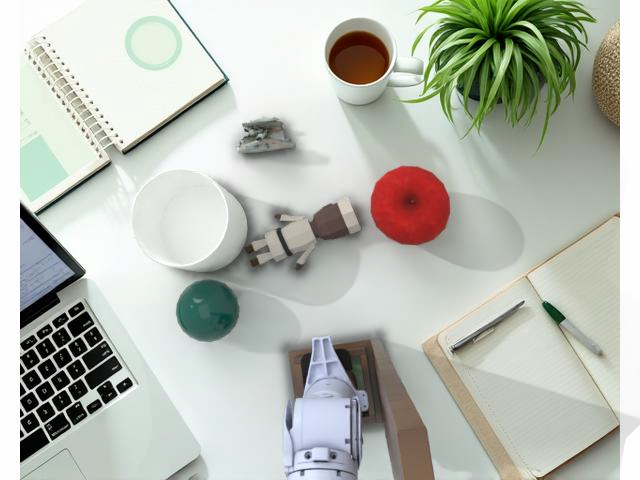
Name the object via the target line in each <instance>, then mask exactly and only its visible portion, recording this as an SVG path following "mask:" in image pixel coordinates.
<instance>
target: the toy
mask: <svg viewBox="0 0 640 480" xmlns="http://www.w3.org/2000/svg"><path fill="white" fill-rule="evenodd" d="M274 219H279V221H280V222H281V221H283V222H284V221H288V222H291V223H289V224H287V225H285V226H283V227H281V226H279V227H277V228H275V229H274V230H270V231H267V232H265V233H264V238H262V239H257V240H254V241H251V244H250V245H246V246H243V248H244V250H245V253H246V254H248V255H250V254H251V253H254V252H255V253H257V252H259V251H261V250H263V249H265V248H266V247H268V249H269V251H267V252H264V253H261V254H260V253H259V254H257V255H256V258H253V259H250V260H249V264H250V266H251V267H253V268H255V267H257V266H259V265H261V266H263V265H264V264H266V263H267V262H270V261H271V260H274V261H275V262H276V263H279V262H280V261H282V260H284V259H286V258H287V257H288V258H290V257H292V256H294V254H297V253H300V252H302V254H301V256H300V257H299V258H298V259H297V261H296V263H297V264H296V267H294V268H295V271H296V272H298V271H301V269H302V268H303V266H304V265H305V264H306V262H307V259H308V257H309V255H310V254H311V253H312V252H313V250H315V248H316V247H317V245H316V244H317V243H318V239H321V240H322V241H331V240H338V239H339V240H340V239H341V238H344V237H346V235H347V234H350V235H353V234H355V233H357V232H360V231H362V227H361V225H360V223H359V220H358V218H357V215H356V213H355V210H354V208H353V205H352V203H351V201H350V199H349V196H348V195H346V196H344V197H342V198H339V199H337V200H336V202H335V203H331V202H330V203H328V204H326V205H324V206H322V207H321V208H320V209H319V210H317V211H316V212H314V214H313V217H312V220H310V219H309V218H306V217H305V216H303V215H302V216H301V215H300V216H291V215H288V214H283V213H276V214H274Z"/></svg>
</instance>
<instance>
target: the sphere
mask: <svg viewBox="0 0 640 480" xmlns="http://www.w3.org/2000/svg"><path fill="white" fill-rule="evenodd" d="M240 308H241V307H240V303H239V299H238V296H237V294H236V293H235V291H234V290H233V289H232V288H231V287H230V286H228V285H227V284H226V283H225V282H222V281H221V280H217V279H211V278H204V279H200V280H196V281H193V282H192V283H191V284H189V285H188V286H186V288H184V289H183V291H182V292H181V293H180V294H179V297H178V300H177V302H176V305H175V316H176V320H177V324H178V326H179V327H180V329H181V330H182V332H183V333H184V334H185V335H187V337H189V338H190V339H192V340H195V341H197V342H199V343H213V342H217V341H220V340H222V339H224V338H225V337H226V336H228V335H230V333H231V332H232V331H233V330H234V329H235V327H236V326H237V323H238V321H239V318H240V311H241V309H240Z"/></svg>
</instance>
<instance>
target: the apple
mask: <svg viewBox="0 0 640 480" xmlns="http://www.w3.org/2000/svg"><path fill="white" fill-rule="evenodd" d="M370 214H371V217H372V220H373V221H374V224H375V227H376V228H377V229H378V230H379V231H380V232H381V233H382V234H383V235H384V236H385V237H386V238H387V239H390V240H392V241H393V242H396V243H397V244H399V245H406V246H407V245H408V246H421V245H423V244H426V243H429V242H431V241H434V240H435V239H436V238H438V237H439V236H440V235H441V234H442V232H444V231H445V230H446V228H447V225H448V222H449V218H450V215H451V198H450V194H449V193H448V191H447V188H446V187H445V184H444V183H443V182H442V180H440V179H439V177H437V176H436V175H435V174H434V173H433V172H432V171H430V170H428V169H426V168H423V167H420V166H418V165H416V166H414V165H400V166H398V167H396V168H393V169H391V170H388V171H387V172H386V173H384V174H383V175H382V176H381V177H380V178H379V179H378V180H377V181H376V182H375V184H374V186H373V189H372V193H371V196H370Z"/></svg>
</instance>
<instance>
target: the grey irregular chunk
mask: <svg viewBox="0 0 640 480" xmlns="http://www.w3.org/2000/svg"><path fill="white" fill-rule="evenodd" d="M283 125H284V122H283V121H280V118H278V117H275V116H273V117H270V118H269V117H267V116H264V115H262V118H261V117H260V118H257V119H255V120H254V119H253V120H251V119H250V121H248V122H241V126H242V129H243V130H244V133H247V134H248V135H244V136H243V137H242V138H241V139H238V143H237V144H238V146H237V145H236V146H235V147H236V151H237V153H238V154H241V155H242V154H251V153H253V154H254V153H262V152H272V151H277V150H283V149H284V150H285V149H294V148H297V145H296V144H297V143H296V142H294V141H292V138H291V137H290V138H288V137H286V138H285V133H286V131H285V128H284V126H283Z"/></svg>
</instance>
